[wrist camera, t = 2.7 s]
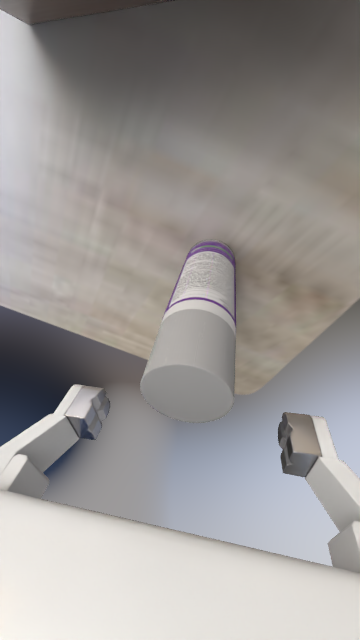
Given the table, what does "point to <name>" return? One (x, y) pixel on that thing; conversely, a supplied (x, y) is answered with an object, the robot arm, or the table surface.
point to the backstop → (64, 8)
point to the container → (196, 340)
